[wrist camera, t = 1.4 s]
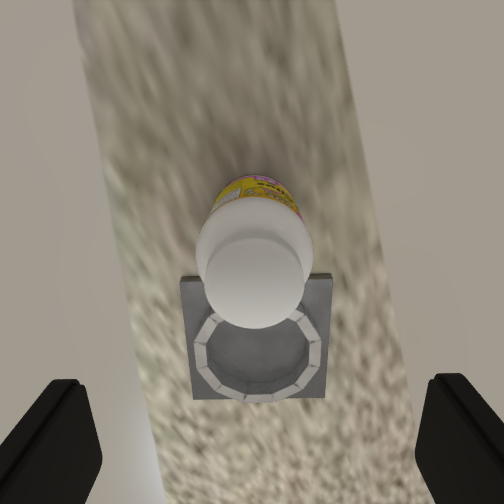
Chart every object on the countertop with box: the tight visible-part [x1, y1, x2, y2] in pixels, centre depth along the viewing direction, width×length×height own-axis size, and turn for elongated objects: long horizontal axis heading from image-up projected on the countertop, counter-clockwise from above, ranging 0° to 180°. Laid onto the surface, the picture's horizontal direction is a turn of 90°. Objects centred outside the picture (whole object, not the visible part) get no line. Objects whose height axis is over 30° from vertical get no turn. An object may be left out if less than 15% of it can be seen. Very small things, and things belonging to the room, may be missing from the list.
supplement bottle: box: [195, 175, 313, 329], centre depth 21 cm, size 7×7×13 cm
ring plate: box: [180, 274, 333, 403], centre depth 31 cm, size 13×13×2 cm
